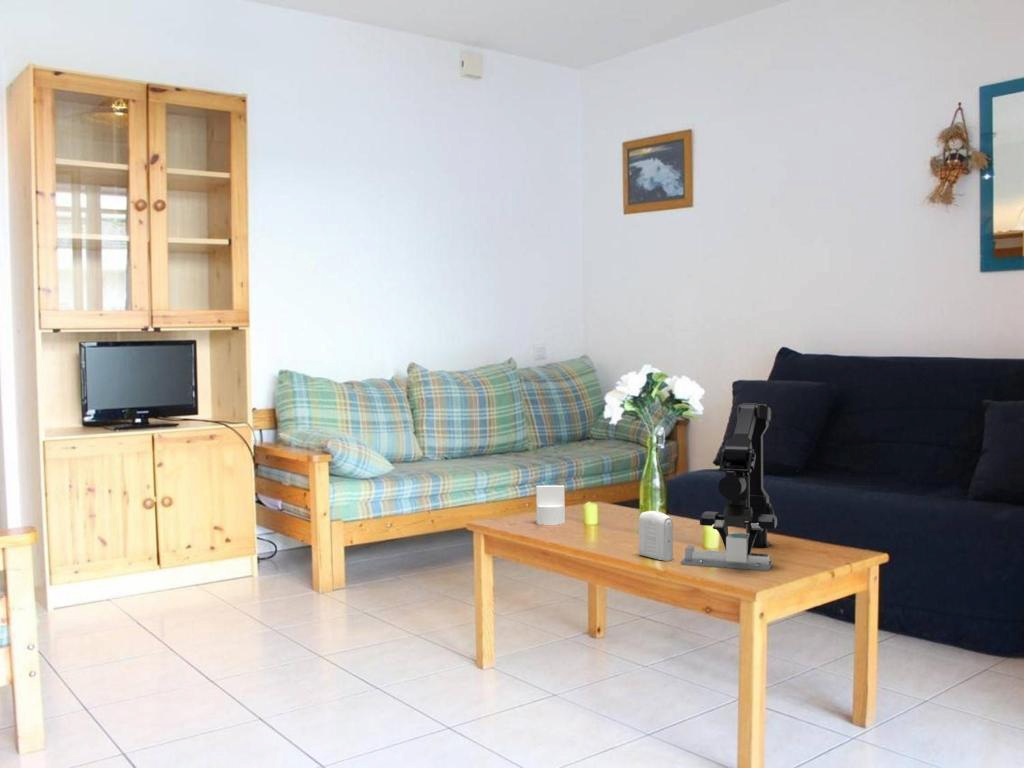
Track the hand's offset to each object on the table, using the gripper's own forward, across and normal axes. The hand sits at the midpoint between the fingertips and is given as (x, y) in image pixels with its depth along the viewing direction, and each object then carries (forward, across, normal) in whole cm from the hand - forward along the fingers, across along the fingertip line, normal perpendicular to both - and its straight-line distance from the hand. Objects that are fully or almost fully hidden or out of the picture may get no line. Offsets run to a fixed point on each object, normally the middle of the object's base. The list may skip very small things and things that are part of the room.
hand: (738, 553), depth 248 cm
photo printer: (+3, -22, +2) cm, 22 cm away
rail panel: (+3, -3, 0) cm, 4 cm away
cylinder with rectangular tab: (+3, -65, +39) cm, 76 cm away
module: (+1, 0, 0) cm, 1 cm away
